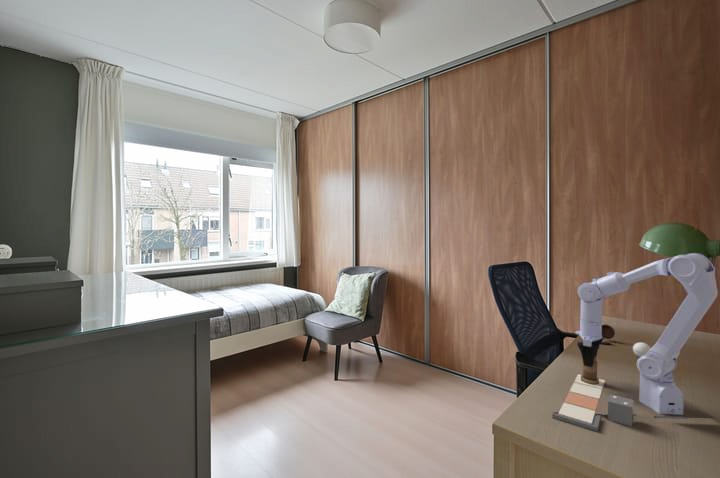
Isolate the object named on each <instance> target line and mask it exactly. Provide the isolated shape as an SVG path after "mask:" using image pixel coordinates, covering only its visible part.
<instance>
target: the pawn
mask: <svg viewBox="0 0 720 478" xmlns="http://www.w3.org/2000/svg"><path fill="white" fill-rule="evenodd" d="M580 375H581V381H583V382H585V383H588V384H594V385H595V384H599V379H600V378H598V360H597V356H595V358H594V363H593V366H592V367H588V366H584V363H583V362H582V374H580Z"/></svg>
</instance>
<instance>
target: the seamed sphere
mask: <svg viewBox="0 0 720 478" xmlns="http://www.w3.org/2000/svg"><path fill="white" fill-rule="evenodd" d="M628 348H629V349H631V348H632V351H633V353H634V354H635V355H636V356H637V357H639V358H640V357H641V356H644V355H646V354H647V353H648V351H649V350H650V349H651V348H652V347H651V346H649V344H647V343H646V342H636V343H634V345H632V347H628Z"/></svg>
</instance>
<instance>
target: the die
mask: <svg viewBox="0 0 720 478" xmlns="http://www.w3.org/2000/svg"><path fill="white" fill-rule="evenodd" d="M607 403H608V405H607V421H611V422H614V423H616V424H617V423H618V424H621V425H625V426H627V427H631V428H632V427H633V418H634V399H632V398H628V397H623V396H619V395H616V394H615V395H614V394H609V396H608V401H607Z"/></svg>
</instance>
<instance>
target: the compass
mask: <svg viewBox="0 0 720 478" xmlns="http://www.w3.org/2000/svg"><path fill="white" fill-rule="evenodd" d="M615 335H616V334H615V329H614V328H613V326H611V325H609V324H602V338H603V340H602V342H601V343H600V345H605V346H606V345H608V346H609V345H611V344H612V345H613V342H612V341H610V339H613V338H614V337H615Z"/></svg>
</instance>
